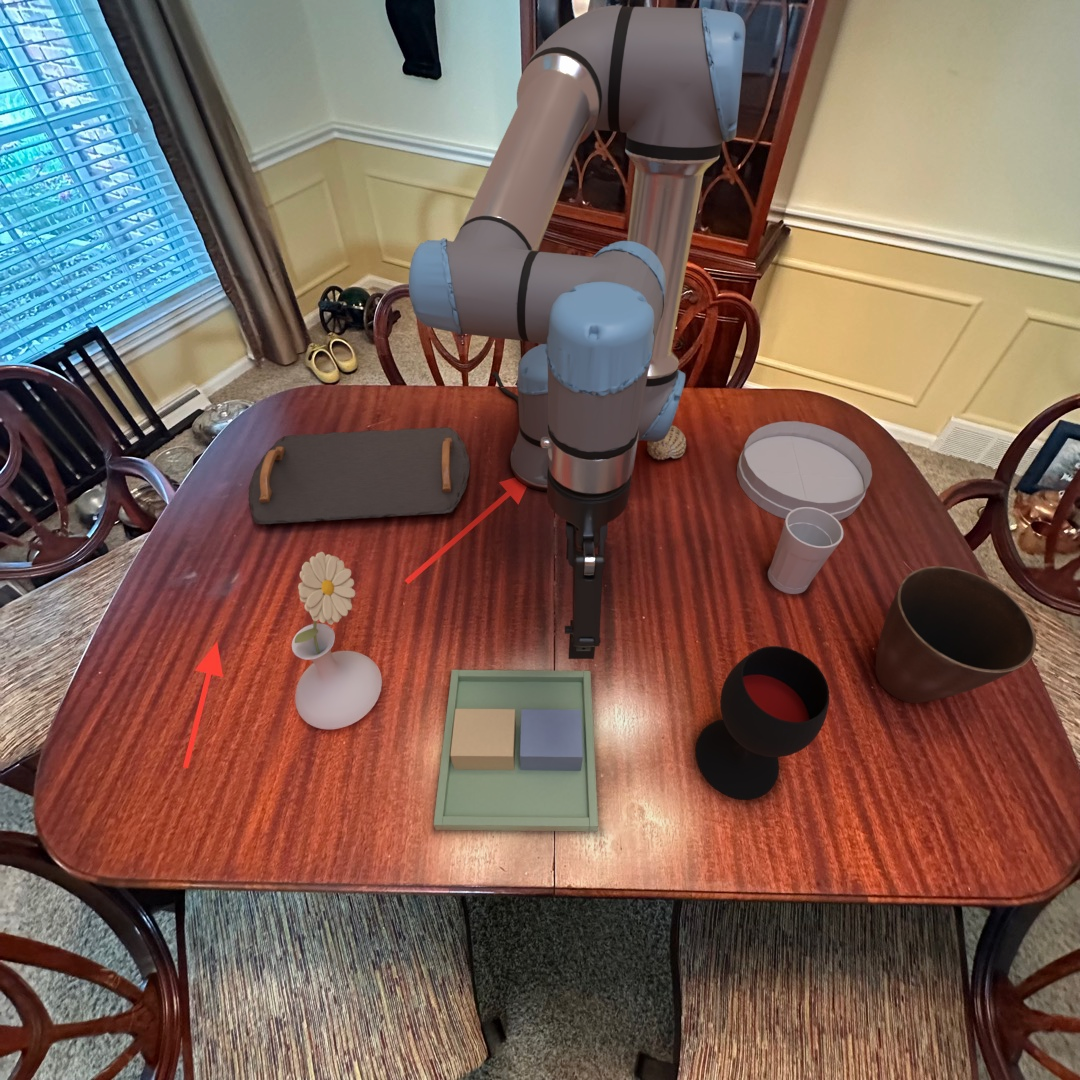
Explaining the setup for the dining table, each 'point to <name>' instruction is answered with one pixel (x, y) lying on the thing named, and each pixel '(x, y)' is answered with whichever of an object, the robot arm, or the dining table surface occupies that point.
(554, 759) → the blue pad
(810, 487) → the dish
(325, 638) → the flower in vase
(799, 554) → the cup
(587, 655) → the robot arm
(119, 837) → the dining table surface
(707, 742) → the wine glass
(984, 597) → the flower pot
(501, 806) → the frame
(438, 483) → the serving tray
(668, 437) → the seashell
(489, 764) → the tan pad
